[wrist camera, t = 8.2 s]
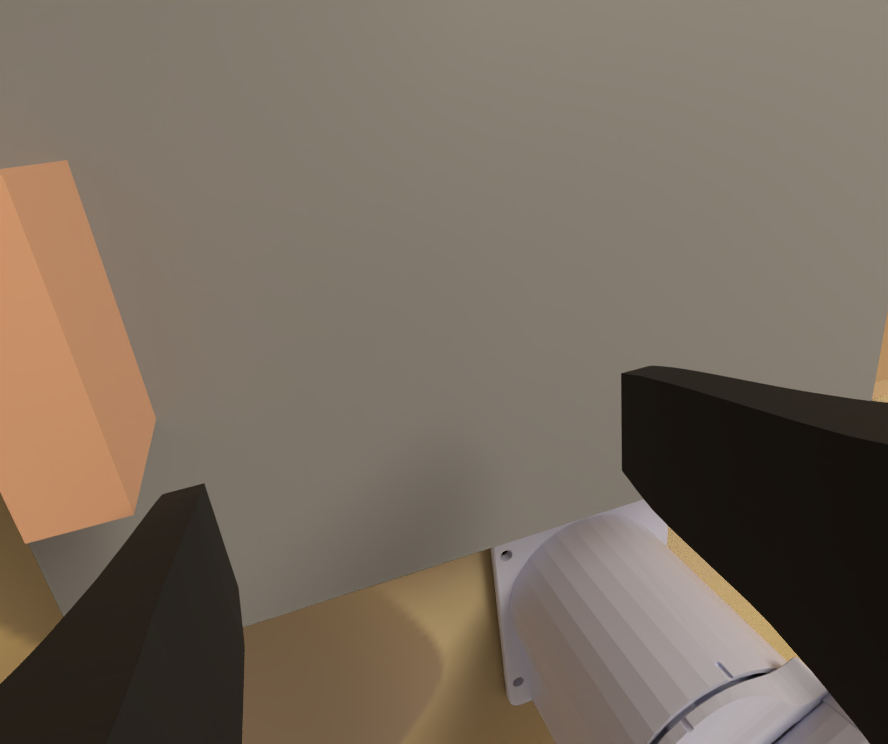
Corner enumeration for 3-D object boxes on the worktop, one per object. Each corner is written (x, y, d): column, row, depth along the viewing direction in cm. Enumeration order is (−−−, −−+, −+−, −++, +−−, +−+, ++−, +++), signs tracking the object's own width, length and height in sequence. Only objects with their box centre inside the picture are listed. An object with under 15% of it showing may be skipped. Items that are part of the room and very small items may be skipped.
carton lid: (849, 419, 20) (987, 484, 17) (96, 656, 15) (54, 829, 11) (961, -254, 14) (1231, -392, 10) (-342, -278, 8) (-804, -605, 4)
